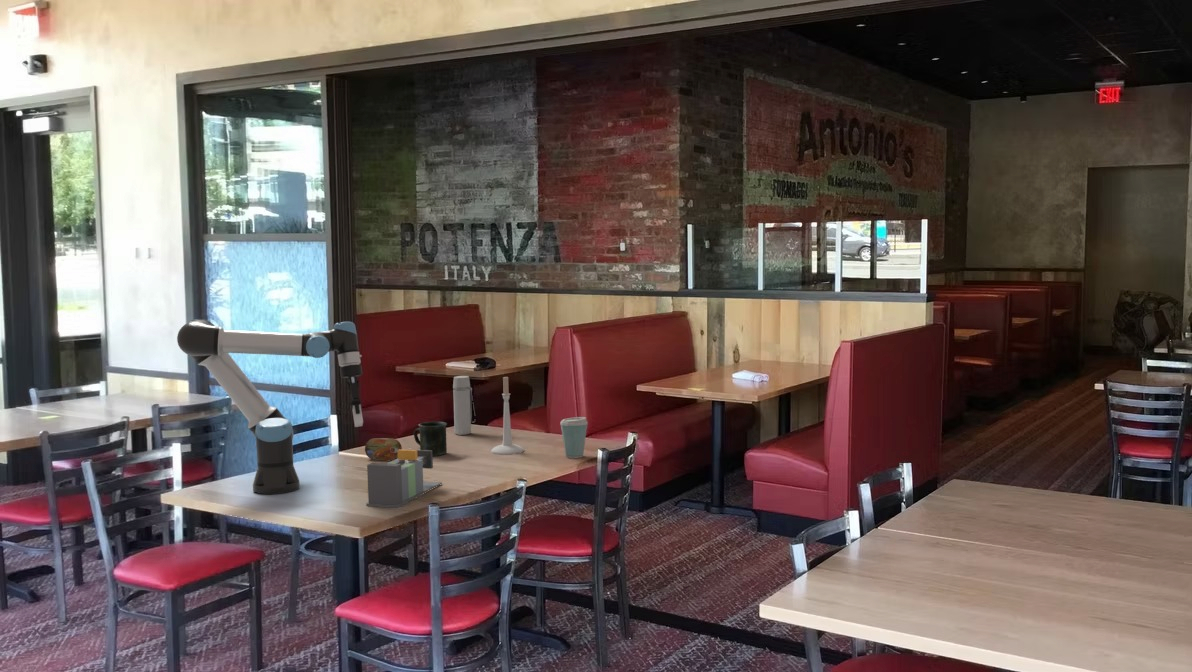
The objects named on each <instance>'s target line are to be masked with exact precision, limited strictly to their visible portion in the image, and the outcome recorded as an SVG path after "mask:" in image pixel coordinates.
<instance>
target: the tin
mask: <svg viewBox="0 0 1192 672" xmlns="http://www.w3.org/2000/svg"><path fill="white" fill-rule="evenodd" d="M399 449H403V448H402V443H401V442H400V441H399V440H398V439H396V438H386V437H385V438H383V437H381V438H377V437H376V438H374V437H373V438H370V439H369V440H367V442H366V443H365V446H364V451H365V454H366V456H367V457H368V458H369V459H370V460H372V459H383V460H382V461H385V460H392V461H393V460H396V459H398V453H397V450H399Z"/></svg>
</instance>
